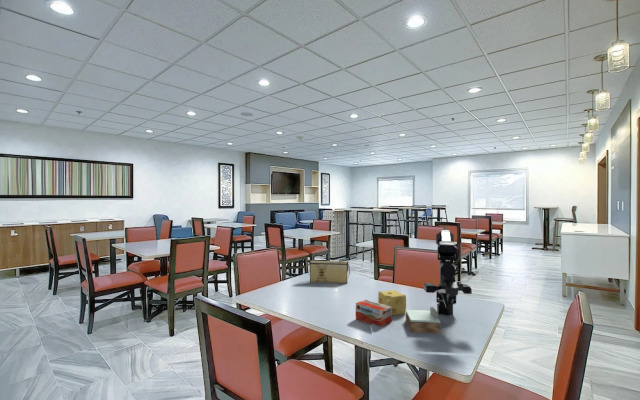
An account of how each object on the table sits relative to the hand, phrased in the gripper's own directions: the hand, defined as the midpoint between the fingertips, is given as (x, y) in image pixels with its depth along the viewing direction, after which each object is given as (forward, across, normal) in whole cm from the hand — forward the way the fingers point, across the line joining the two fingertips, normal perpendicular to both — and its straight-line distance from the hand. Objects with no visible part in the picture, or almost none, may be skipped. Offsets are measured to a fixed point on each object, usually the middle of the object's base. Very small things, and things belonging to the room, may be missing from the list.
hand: (447, 307), depth 132 cm
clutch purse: (+10, -58, +73) cm, 93 cm away
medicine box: (+10, -31, +6) cm, 33 cm away
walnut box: (+9, -10, 0) cm, 14 cm away
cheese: (+10, -22, +18) cm, 30 cm away
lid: (+4, -10, 0) cm, 11 cm away
